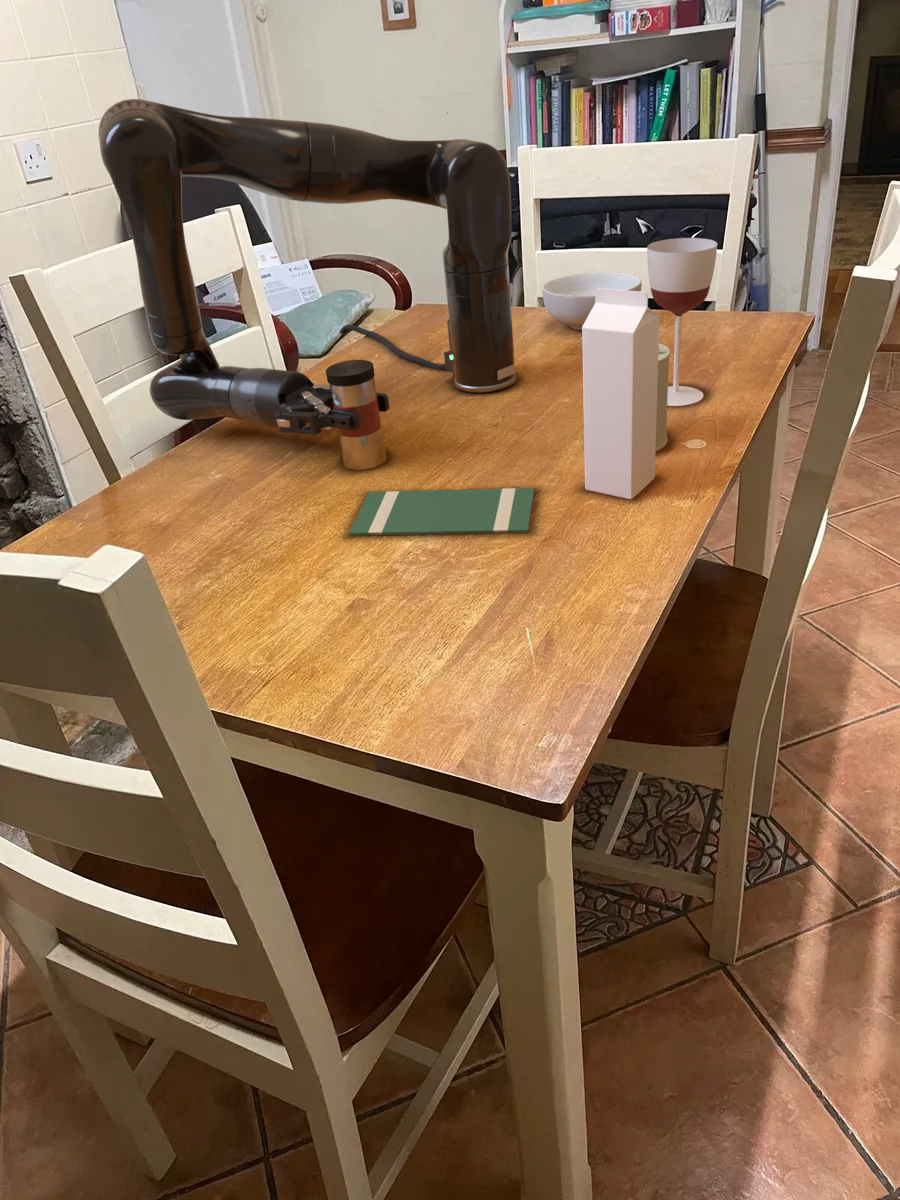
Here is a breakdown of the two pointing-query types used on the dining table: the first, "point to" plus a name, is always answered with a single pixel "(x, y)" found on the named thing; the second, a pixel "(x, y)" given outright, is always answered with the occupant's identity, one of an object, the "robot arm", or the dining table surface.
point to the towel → (445, 512)
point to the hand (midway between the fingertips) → (372, 412)
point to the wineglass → (681, 292)
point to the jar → (358, 395)
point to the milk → (620, 392)
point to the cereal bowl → (582, 294)
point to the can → (662, 396)
